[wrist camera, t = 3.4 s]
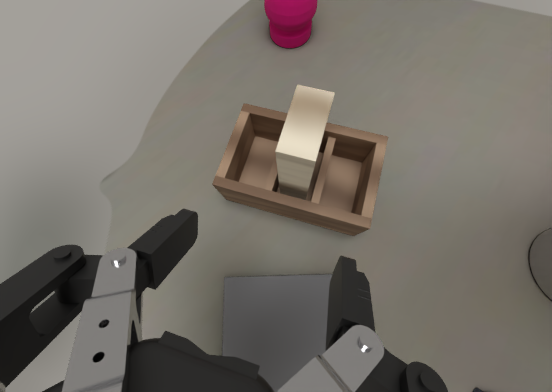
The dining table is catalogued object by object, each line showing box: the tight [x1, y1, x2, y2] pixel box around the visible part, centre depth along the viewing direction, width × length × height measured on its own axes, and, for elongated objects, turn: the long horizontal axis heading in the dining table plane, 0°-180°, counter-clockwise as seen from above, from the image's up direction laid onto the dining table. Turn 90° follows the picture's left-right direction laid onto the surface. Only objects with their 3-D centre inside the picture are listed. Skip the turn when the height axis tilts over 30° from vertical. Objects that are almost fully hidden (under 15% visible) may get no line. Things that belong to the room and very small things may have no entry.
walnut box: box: [212, 104, 388, 236], centre depth 28 cm, size 10×16×6 cm, turn 73°
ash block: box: [275, 85, 335, 200], centre depth 24 cm, size 6×3×12 cm, turn 163°
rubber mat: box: [222, 274, 332, 392], centre depth 24 cm, size 18×14×1 cm
